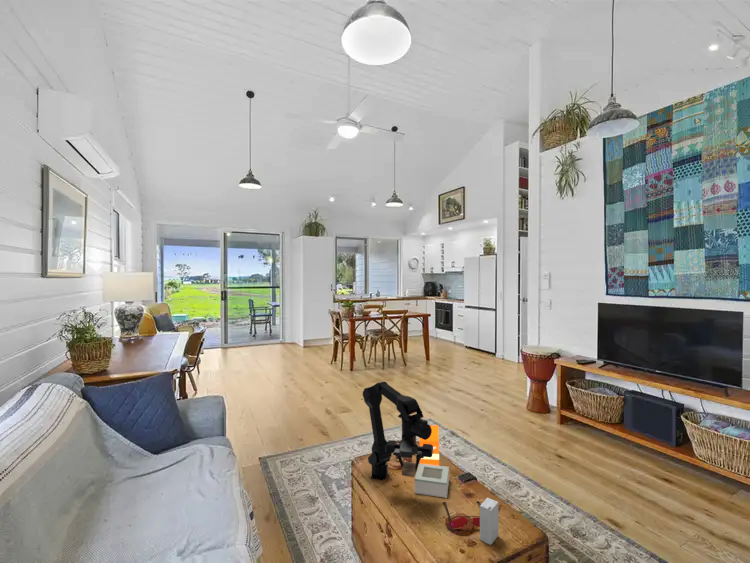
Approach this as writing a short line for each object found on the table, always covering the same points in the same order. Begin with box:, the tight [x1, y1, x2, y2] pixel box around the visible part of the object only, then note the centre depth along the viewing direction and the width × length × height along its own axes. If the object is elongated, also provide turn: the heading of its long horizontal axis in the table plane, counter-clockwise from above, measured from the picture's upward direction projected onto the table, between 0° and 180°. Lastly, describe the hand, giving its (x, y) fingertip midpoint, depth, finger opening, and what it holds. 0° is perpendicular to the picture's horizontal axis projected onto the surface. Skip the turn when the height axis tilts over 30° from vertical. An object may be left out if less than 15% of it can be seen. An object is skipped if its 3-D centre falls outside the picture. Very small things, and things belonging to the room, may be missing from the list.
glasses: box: [442, 500, 482, 529], centre depth 137 cm, size 14×16×5 cm
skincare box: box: [479, 497, 499, 546], centre depth 125 cm, size 6×4×12 cm
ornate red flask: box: [394, 439, 413, 463], centre depth 179 cm, size 8×3×10 cm, turn 84°
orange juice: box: [419, 424, 440, 466], centre depth 171 cm, size 8×9×20 cm
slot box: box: [414, 462, 450, 499], centre depth 156 cm, size 13×13×6 cm
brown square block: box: [401, 462, 417, 478], centre depth 148 cm, size 5×5×3 cm
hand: (409, 469), depth 148 cm, fingers closed on brown square block, 5 cm apart
